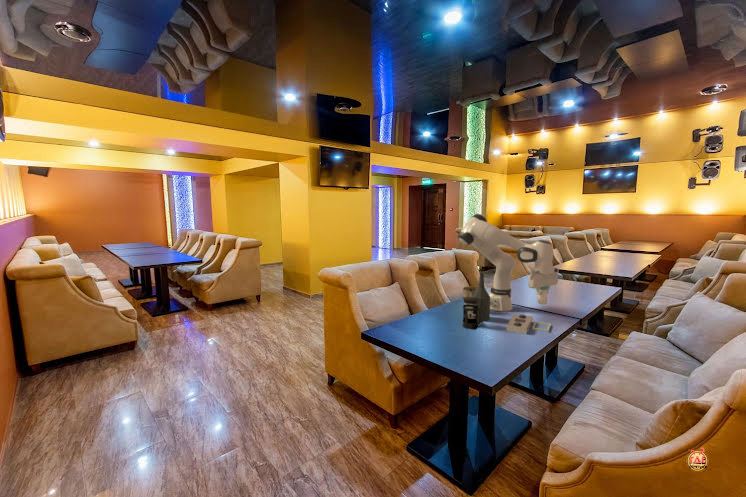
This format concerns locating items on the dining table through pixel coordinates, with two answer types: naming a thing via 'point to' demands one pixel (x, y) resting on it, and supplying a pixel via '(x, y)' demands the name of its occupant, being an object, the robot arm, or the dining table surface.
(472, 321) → the french press
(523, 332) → the white slotted holder
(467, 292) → the plant pot
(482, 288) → the bottle
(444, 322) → the dining table surface
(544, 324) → the tray
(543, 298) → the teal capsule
